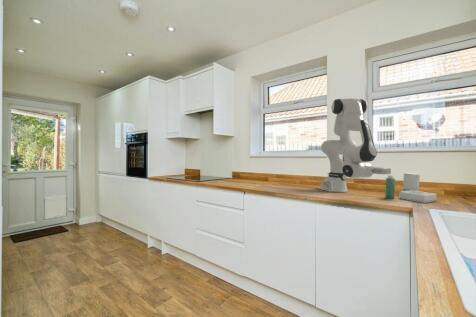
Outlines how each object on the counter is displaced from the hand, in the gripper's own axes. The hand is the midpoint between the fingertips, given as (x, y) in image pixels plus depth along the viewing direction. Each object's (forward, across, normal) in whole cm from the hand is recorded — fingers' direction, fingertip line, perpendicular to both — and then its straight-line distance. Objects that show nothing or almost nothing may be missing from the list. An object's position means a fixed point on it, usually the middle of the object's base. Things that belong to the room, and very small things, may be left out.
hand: (379, 169), depth 143 cm
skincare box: (+38, +1, +19) cm, 42 cm away
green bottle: (+12, 0, +19) cm, 23 cm away
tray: (+24, -10, +19) cm, 32 cm away
